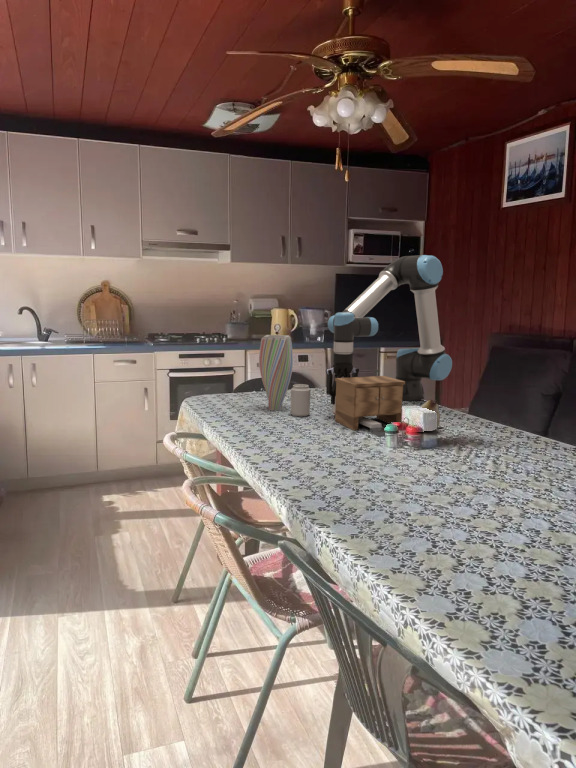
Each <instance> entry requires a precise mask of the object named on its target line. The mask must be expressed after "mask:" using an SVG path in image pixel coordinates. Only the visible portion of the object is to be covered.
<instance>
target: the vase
mask: <svg viewBox="0 0 576 768" xmlns="http://www.w3.org/2000/svg"><path fill="white" fill-rule="evenodd" d="M258 354H259V355H258V356H259V357H258V365H259V366H258V367H259V373H260V377H261V381H262V384H263V387H264V391H265V392H266V396H267V399H268V401H267V403H268V411H281V410H283V403H284V399H285V397H286V394H287V392H288V389H289V386H290V382H291V377H292V373H293V367H294V353H293V344H292V337H291V336H290V335H285V334H284V335H279V334H266V335H264V336H263V337H262V338H260V345H259V353H258Z"/></svg>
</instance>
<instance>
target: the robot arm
mask: <svg viewBox="0 0 576 768" xmlns="http://www.w3.org/2000/svg"><path fill="white" fill-rule="evenodd" d="M443 274H444V270H443V265H442V263H441V261H440V259H438V258H437V257H436V256H435V255H427V254H421V255H405V256H401V257H399V258H397V259H395V260H393V261H392V262H391V263H390V264H388V265H387V266H386V267H384V268H383V270H381V271H380V272H379V275H378V277H377V279H375V280H374V281H373V282H372V283H371V284H370V285H369V286H368V287H367V288H366V289H365V290H363V292H362V293H361V294H359V295H358V296H357V297H356V299H354V300H353V301H352V302H351V304H349V305H348V306H347V307H346V308H345V309H344V310H343V311H342V312H340V311H339V312H336V313H335V314H334V315H332V316H330V317H329V319H328V321H327V328H328V330H329V331H330V332H331V333H333V356H332V362H333V365H332V367H331V368H326V369H325V372H326V391H325V392H326V393H325V394H326V395H329V396H330V404H331V405H332V411H331V412H332V413H333V412H334V413H335V408H336V381H335V378H350V377H359V372H360V368H358V367H354V366H353V363H354V362H353V361H354V354H353V353H354V338H356V337H357V338H358V337H359V338H360V337H373V336H375V335H376V334H377V333H378V331H379V322H378V321H377V319H376V318H375V317H371V316H366V315H367V314H368V313H369V312H370V311H371V310H372V309H373V308H374V307H375V306H377V304H378V303H379V302H380V301H381V300H382V299H383V298H384V297H385V296H387V294H389V293H390V292H391V291H394V290H396V289H397V288H398V287H400V286H401V285H405V284H406V285H409V289H410V290H409V291H411V292H412V293H413V294H414V295H413V296H414V302H415V311H416V312H415V313H416V318H417V320H416V321H417V327H418V335H419V344H420V347H417V348H416V347H415V348H414V347H413V348H399V349H398V350H397V351H396V352H397V353H396V357H395V359H396V360H395V379H397V380H401V381H405V384H403V397H402V401H406V402H407V401H409V402H410V401H411V402H412V401H415V402H416V401H423V400H425V392H424V386H423V383H422V379H427V380H431V381H443V380H445V379H446V378H447V377H448V376H449V375H450V373H451V371H452V368H453V360H452V357H451V356H450V355H449V354H447V353H446V348H445V346H444V345H442V344H441V336H440V325H439V317H438V316H439V315H438V306H437V298H436V297H437V296H436V290H437V289H438V287H439V282H441V280H442V279H443ZM351 372H352V373H351ZM333 374H334V377H333ZM333 378H334V379H333ZM334 413H333V414H334Z"/></svg>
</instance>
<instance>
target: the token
mask: <svg viewBox="0 0 576 768" xmlns="http://www.w3.org/2000/svg"><path fill="white" fill-rule="evenodd" d="M384 427H385V426H381V427H380V428H369V433H370V434H373V435H374V436H376V437H379V438H380V437H386V436H385V431H384Z"/></svg>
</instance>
